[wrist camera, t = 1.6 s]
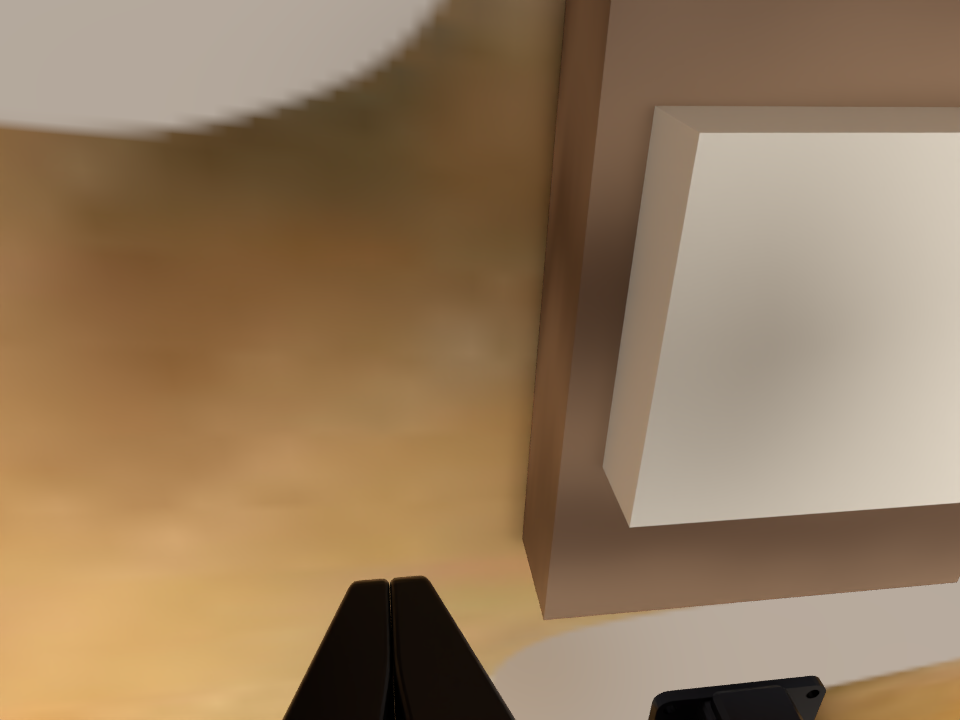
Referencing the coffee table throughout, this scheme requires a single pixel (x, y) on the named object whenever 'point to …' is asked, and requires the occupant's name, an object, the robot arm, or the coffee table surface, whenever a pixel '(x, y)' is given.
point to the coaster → (791, 316)
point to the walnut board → (606, 274)
